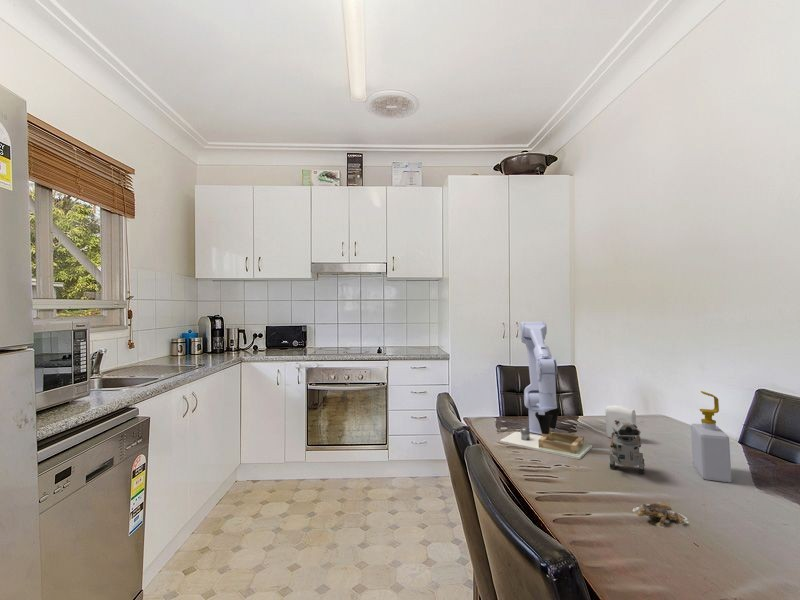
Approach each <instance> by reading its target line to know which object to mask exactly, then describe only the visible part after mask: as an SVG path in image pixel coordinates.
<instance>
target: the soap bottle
mask: <svg viewBox="0 0 800 600" xmlns="http://www.w3.org/2000/svg"><path fill="white" fill-rule="evenodd" d="M700 393H701V394H703V395H704V396H705V395H706V396H709V397H713V402H714V403H713V404H714V407H713V409H707V408H699V411H700V412H701V413H702V414H701V415H702V416H703V415H704V418H701V419H700V422H701V423H691V425H690V430H691V432H690V433H691V454H692V464H693V466H694V467H695V469H696V471H697V472H698V473H699V475H700V477H701V478H702V479H703V480H707V481H708V480H709V481H716V482H723V483H732V468H731V467H732V466H731V465H732V464H731V463H732V462H731V447H730V446H731V445H730V444H731V443H730V437H729V436H728V434H727V433H726V432H725V431H723V430H722V429H721V428H720V427H719V426H718V425H716V423H717V421H716V420H715V419H713V416H715V414H718V413H719V411H720V404H719V398H718V397H717V396H716V395H714V394H711V393H708V392H705V391H702V390H701V391H700Z"/></svg>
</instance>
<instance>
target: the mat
mask: <svg viewBox="0 0 800 600" xmlns="http://www.w3.org/2000/svg"><path fill="white" fill-rule="evenodd" d="M552 441H556V440H552ZM556 442H562V441H556ZM562 443H568V442H562ZM568 444H572V443H568ZM590 445H591V444H586V443H584V445H583V446H582V447H581V448H580V449H579V450H578V452H577V453H576V454H573V453H568V452H562V451H557V450H552V449H546V448H541V447H539V448H541V449H545V450H550V451H555V452H560V453H565V454H570V455H575V456H579V455H580V454H581V453H582V452H583V451H584V450H585V449H587V448H588V447H589V446H590Z"/></svg>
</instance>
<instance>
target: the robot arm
mask: <svg viewBox="0 0 800 600" xmlns="http://www.w3.org/2000/svg"><path fill="white" fill-rule="evenodd" d="M519 324H520V325H519V331H520V334H519V335H520V341H521V343H523V344H524V345H525V347H526V349H527V350H526V351H527V360H528V371H529V372H528V373H529V381H530V382H529V383H530V384H529V385H527V386H526V387H525V388H524V389H523V393H524V394H523V400H524V401H523V402H524V403H523V404H524V407H525V408H526V409H528V428H529V430H530V434H536V435H541V431H542V434H549V429H550V427H551V432H553V430H555V429H556V427H557V423H558V422H557V421H558V418H559V415H560V413H561V410H562V408H561V407H560V408H559V407H558V401H557V389H556V388H557V386H556V376H557V375H558V364H557V359H556V358H554V357H553V356H552V353H551V350H550V347H549V346H548V345H547V344H546V343H545V339H546V336H547V323H546V322H545V321H543V320H542V321H521V322H520V323H519Z"/></svg>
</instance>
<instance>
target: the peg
mask: <svg viewBox="0 0 800 600" xmlns="http://www.w3.org/2000/svg"><path fill="white" fill-rule="evenodd" d="M520 432H521V439H522V440H525V441H528V440H530V434H531V432H530V430H529V427H526V426H522V427H520Z"/></svg>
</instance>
